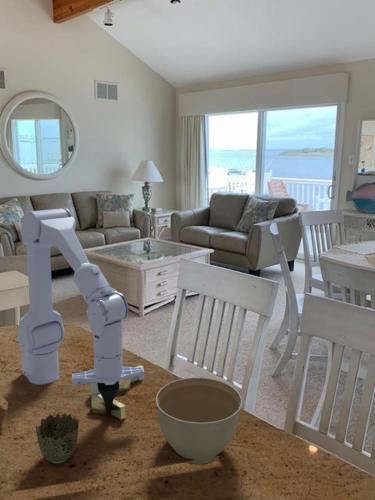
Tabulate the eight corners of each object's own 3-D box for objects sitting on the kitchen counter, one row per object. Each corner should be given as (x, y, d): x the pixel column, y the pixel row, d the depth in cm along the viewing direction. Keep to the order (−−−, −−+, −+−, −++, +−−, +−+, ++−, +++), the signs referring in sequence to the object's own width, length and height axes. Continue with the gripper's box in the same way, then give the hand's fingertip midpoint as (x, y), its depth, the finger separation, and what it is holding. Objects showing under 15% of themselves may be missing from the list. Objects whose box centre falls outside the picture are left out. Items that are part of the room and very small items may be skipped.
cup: (69, 480, 80) (67, 438, 78) (30, 474, 81) (27, 433, 80) (87, 453, 87) (85, 415, 85) (51, 448, 89) (48, 410, 87)
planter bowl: (162, 484, 79) (162, 427, 77) (151, 429, 95) (150, 381, 92) (252, 472, 82) (254, 417, 80) (227, 421, 98) (228, 374, 95)
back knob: (118, 394, 106) (117, 382, 105) (105, 386, 109) (105, 375, 109) (148, 380, 112) (148, 369, 112) (136, 373, 116) (135, 362, 115)
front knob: (87, 408, 100) (86, 395, 99) (104, 399, 104) (104, 387, 103) (114, 424, 94) (113, 411, 93) (131, 414, 98) (131, 401, 97)
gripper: (71, 364, 88) (73, 428, 91) (146, 357, 91) (146, 419, 94) (71, 349, 95) (73, 409, 97) (141, 343, 98) (141, 401, 101)
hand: (109, 413), depth 96 cm, fingers closed, pressing on front knob
